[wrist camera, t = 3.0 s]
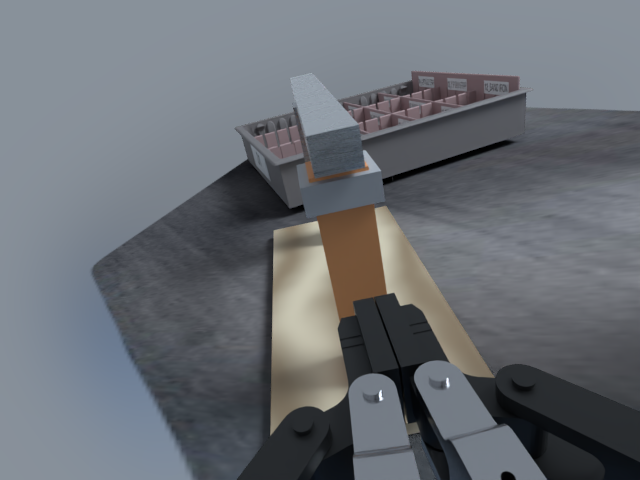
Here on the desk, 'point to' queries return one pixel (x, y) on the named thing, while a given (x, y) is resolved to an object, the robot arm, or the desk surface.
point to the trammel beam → (325, 129)
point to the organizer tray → (400, 125)
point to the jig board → (322, 317)
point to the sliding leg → (348, 229)
